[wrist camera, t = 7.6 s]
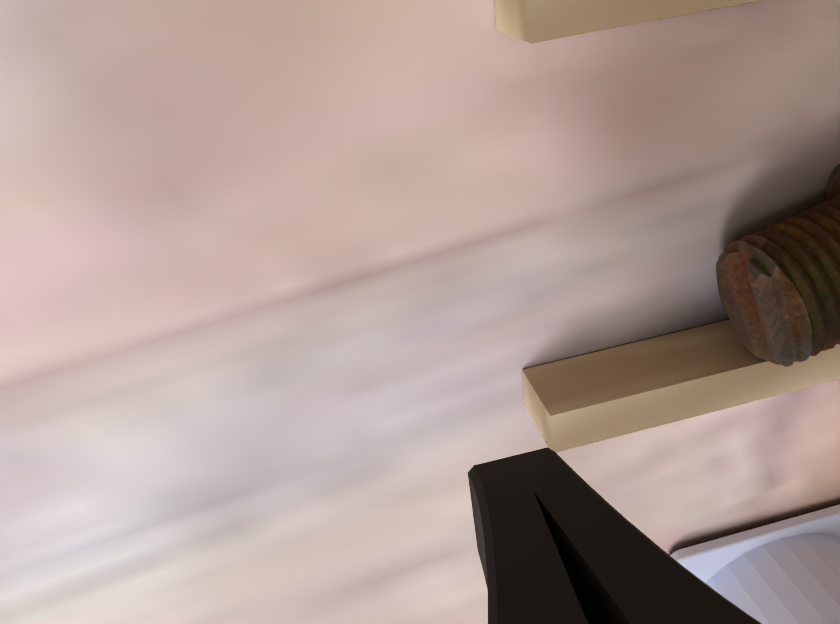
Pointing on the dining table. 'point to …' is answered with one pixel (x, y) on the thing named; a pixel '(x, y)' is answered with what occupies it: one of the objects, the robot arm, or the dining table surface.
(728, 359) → the guide channel
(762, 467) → the dining table surface
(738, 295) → the bolt
